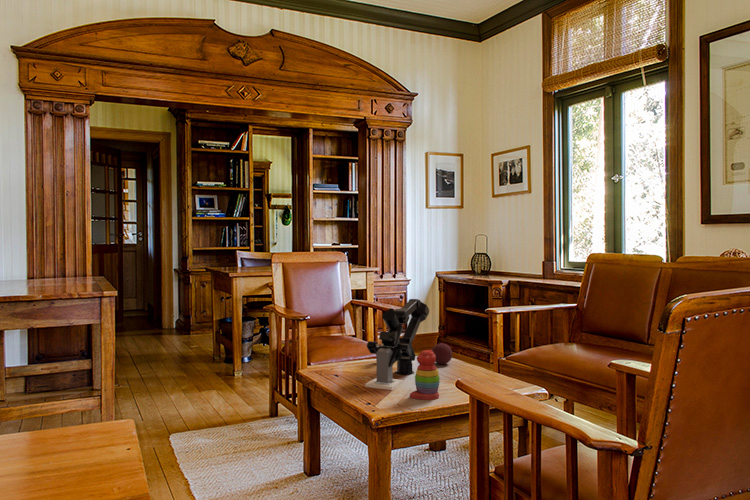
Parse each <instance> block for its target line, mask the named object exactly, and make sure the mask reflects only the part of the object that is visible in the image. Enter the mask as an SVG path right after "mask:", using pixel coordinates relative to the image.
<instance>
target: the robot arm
mask: <svg viewBox="0 0 750 500" xmlns="http://www.w3.org/2000/svg"><path fill="white" fill-rule="evenodd" d="M429 314H430V307H428V305H427V304H426V303H425V302H422V301H421V300H420V299H418V298H410V299H408V301H407V302H406V303H405V304H404V305H403V306H401V307H400V308H395V309H394V308H392V307H391V308H388V309H387V310H385V311H384V312H383V313H382V316H381V317H382V320H383V322H384V324H385V326H386V327H387V329H388V330H387V331H380V332H379V337H378V340H381V342H380V343H381V344H379V343H378V341H372V340H370V341H368V342H367V343H366V348H367V350H368V352H369V353H370V354H371V355H372V354H373V355H376V352H377V351H378V350H379V349H381V348H388V349H391V350H392V357H391V359H390V362H389V367H391V366H392V365H394V364H395V363H397V364H396V371H394V373H395V374H398V375H403V376H407V375H410V374H411V375H412V374H414V373H415V371H413V361H416V353H415V350H414V347H413V345H412V344H413V342H414V339H415V337H416V335H417V332H418V329H419V327H420V325H421V323H422V322H424V321H425V320H426V319H427V318H428V316H429ZM410 316H411V318H410ZM407 323H408V324H407ZM406 324H407V326H406V329H405V331H404V327H403V325H406ZM402 333H403V335H402V337H401V334H402ZM375 358H376V362H375V363H377V357H376V356H375Z"/></svg>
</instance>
